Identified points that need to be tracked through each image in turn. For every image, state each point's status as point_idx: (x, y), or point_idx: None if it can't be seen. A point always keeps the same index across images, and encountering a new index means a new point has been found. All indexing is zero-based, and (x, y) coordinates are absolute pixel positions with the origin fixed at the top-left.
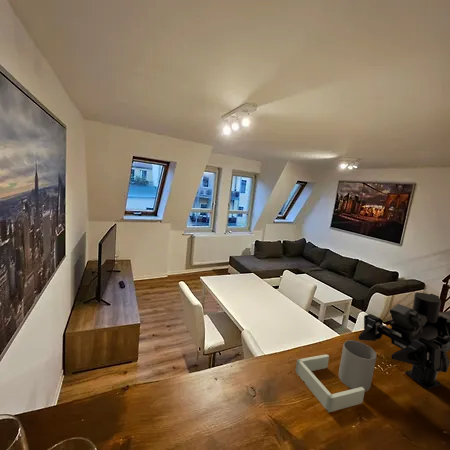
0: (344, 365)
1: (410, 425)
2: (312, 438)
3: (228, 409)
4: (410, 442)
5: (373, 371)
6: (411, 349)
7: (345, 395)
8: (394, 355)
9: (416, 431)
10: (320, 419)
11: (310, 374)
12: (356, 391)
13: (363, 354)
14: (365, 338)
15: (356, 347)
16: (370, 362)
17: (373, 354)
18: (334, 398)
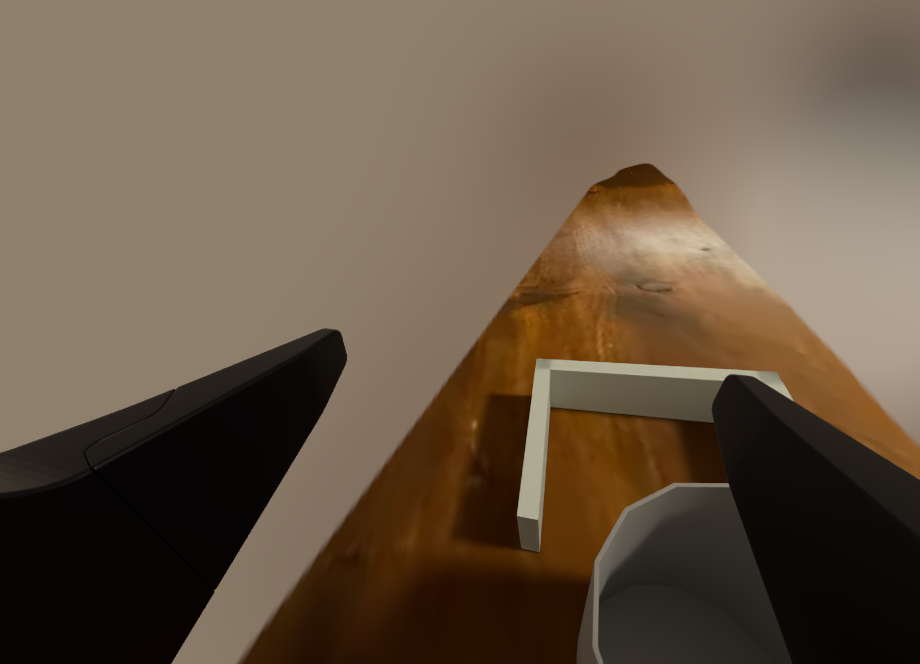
0: (706, 549)
1: (338, 660)
2: (500, 328)
3: (612, 252)
4: (333, 548)
5: None
6: (65, 435)
7: (530, 412)
8: (316, 334)
9: (314, 647)
10: (529, 365)
11: (661, 366)
12: (525, 464)
13: None
14: (753, 503)
15: None
16: (591, 606)
17: None
18: (535, 371)
